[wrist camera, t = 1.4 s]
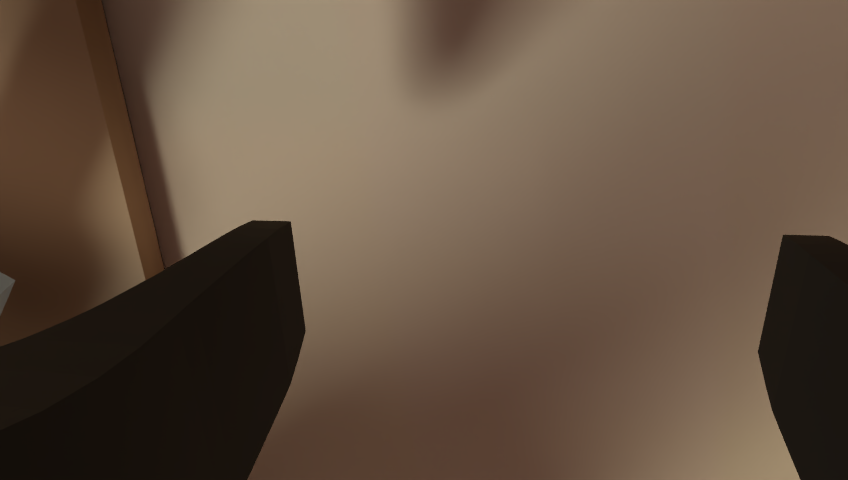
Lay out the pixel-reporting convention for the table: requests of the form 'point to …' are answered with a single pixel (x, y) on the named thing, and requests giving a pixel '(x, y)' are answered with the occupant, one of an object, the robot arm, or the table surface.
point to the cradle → (66, 168)
